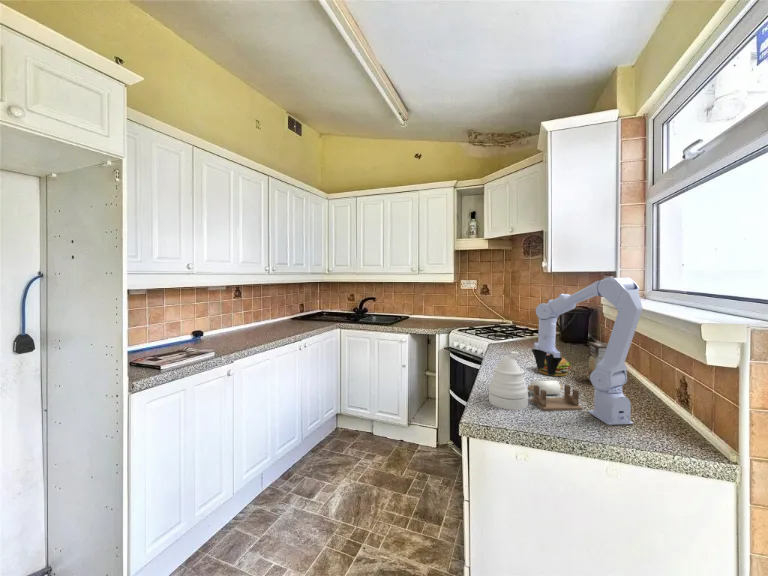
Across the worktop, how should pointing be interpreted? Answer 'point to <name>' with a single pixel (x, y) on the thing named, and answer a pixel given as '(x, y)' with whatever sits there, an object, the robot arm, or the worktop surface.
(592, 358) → the coffee box
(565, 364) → the food
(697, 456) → the worktop surface
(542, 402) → the holder
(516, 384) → the honey pot
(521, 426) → the worktop surface
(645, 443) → the worktop surface
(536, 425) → the worktop surface
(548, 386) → the paper roll
